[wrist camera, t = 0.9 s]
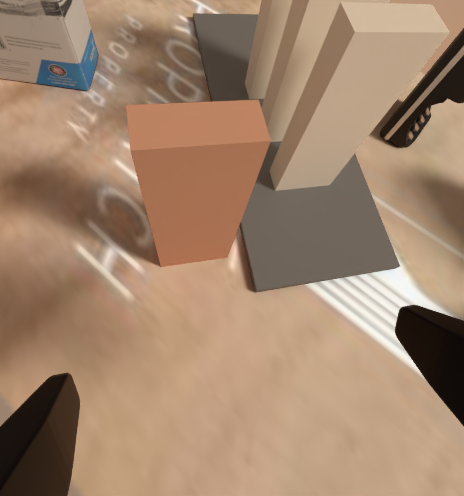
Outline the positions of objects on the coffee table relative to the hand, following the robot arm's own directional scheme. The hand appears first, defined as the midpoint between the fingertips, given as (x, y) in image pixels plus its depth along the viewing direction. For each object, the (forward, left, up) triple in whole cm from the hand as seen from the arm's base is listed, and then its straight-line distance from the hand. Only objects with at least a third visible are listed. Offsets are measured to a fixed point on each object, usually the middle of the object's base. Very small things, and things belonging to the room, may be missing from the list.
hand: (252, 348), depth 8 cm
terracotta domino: (+8, -2, -13) cm, 16 cm away
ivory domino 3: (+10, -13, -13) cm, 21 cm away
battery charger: (+11, -27, -14) cm, 32 cm away
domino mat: (+16, -14, -13) cm, 25 cm away
